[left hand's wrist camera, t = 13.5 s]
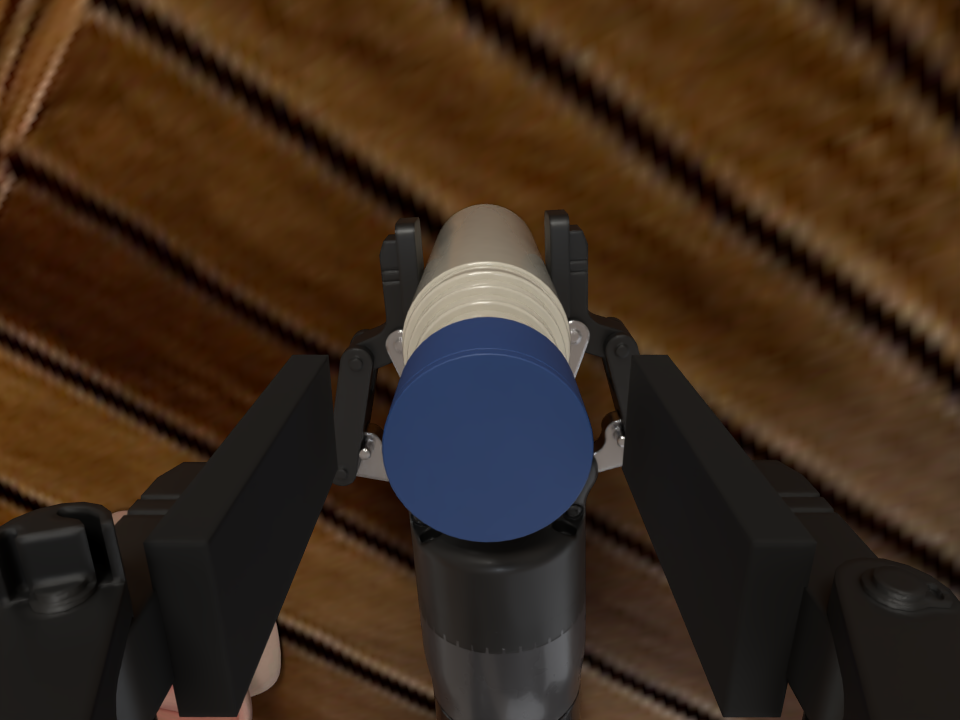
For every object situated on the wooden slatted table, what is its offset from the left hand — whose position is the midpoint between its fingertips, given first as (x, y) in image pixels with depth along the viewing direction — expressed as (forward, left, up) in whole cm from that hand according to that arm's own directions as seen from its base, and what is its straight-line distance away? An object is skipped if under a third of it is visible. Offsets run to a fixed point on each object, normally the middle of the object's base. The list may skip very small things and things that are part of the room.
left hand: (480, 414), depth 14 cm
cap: (0, 0, +1) cm, 1 cm away
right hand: (+1, -2, -11) cm, 12 cm away
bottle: (0, 0, -18) cm, 18 cm away
